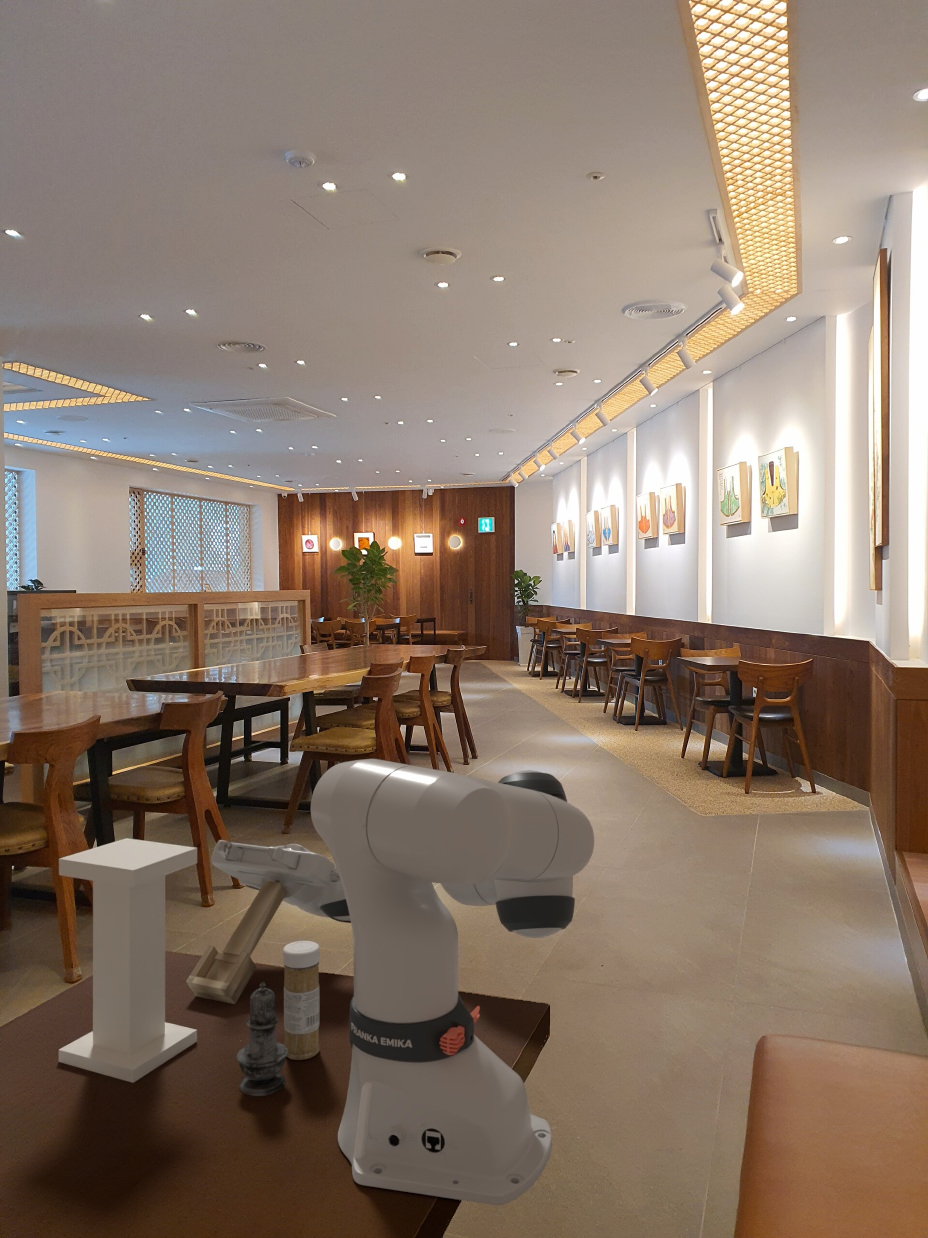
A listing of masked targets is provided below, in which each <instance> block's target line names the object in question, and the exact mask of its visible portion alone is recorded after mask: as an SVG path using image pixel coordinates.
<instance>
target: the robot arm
mask: <svg viewBox="0 0 928 1238" xmlns="http://www.w3.org/2000/svg"><path fill="white" fill-rule="evenodd" d="M310 816H311V817H310V818H311V822H312V825H313V827H314V829H315V831H316V833H317V834H318V835H319V837H320V838H321V839H322V841H323V842H324V844H325V845H326V847H327V848H328V851H329V852H330V854H331V857H332V859H333V861H331V859H329V858H327V857H326V856H325V855H322V854H319V853H317V852H312V850H310V849H308V848H307V847H304V846H302V845H300V844H297V843H290V844H286V845H277V846H261V845H254V844H248V843H247V844H246V843H239V842H238V843H237V842H231V841H229V840H223V839H219V840H218V841H217V842H216V844H215V846H214V848H213V850H212V855H211V858H210V859H211V864H212V865H213V866H214V867H216V868H217V869H219V870H220V871H222V872H224V873H225V874H227V875H228V876H231V877H233V878H235V879H237V880H239V884H240V885H241V886H244V887H246V888H248V889H252V890H257V891H258V892H259V891H260V889H261V887H262V886H263V884H264V882H265V881H272V882H279V883H282V885H283V887H284V889H285V891H286V893H287V894H286V895H285V897H284V899H283V901H282V902H284V903H286V904H289V905H291V906H295V907H297V908H299V909H300V910H301V911H303V912H306V913H308V914H310V915H312V916H313V915H314V916H317V917H322V918H329V919H332V920H333V921H336V922H341V923H346V924H350V925H351V932H352V933H351V934H352V951H353V953H352V955H353V957H352V958H353V996H352V998H351V999H350V1004H349V1021H348V1023H349V1027H348V1028H349V1030H348V1032H349V1033H348V1034H349V1036H348V1037H349V1042H350V1048H351V1053H352V1054H351V1064H350V1065H351V1066H350V1075H349V1082H348V1088H347V1094H346V1095H347V1096H346V1100H345V1106H344V1109H343V1114H342V1117H341V1121H340V1125H339V1128H338V1131H337V1142H338V1145H339V1148H340V1149H341V1151H342V1152H343V1154H344V1155H345V1156H346V1158H347V1159H348V1160H349V1162H350V1164H351V1172H352V1173H351V1174H352V1179H353V1180H354V1182H355V1183H357V1184H358V1185H361V1186H367V1187H374V1188H380V1189H386V1190H391V1191H392V1190H393V1191H399V1192H406V1193H407V1192H408V1193H411V1194H412V1193H414V1194H419V1195H420V1194H421V1195H425V1196H432V1197H440V1198H446V1199H453V1200H458V1201H465V1202H466V1201H467V1202H471V1203H478V1204H486V1205H492V1206H504V1205H506V1204H509V1203H511V1202H513V1201H515V1200H517V1199H518V1198H519V1197H521V1196H522V1195H524V1194H525V1193H526V1192H527V1191H528V1190H530V1188H532V1187H533V1185H534V1184H535V1183H536V1182H537V1180H538V1179H539V1178H540V1176H541V1175H542V1173H543V1171H544V1170H545V1168H546V1166H547V1164H548V1162H549V1160H550V1156H551V1155H552V1150H553V1138H552V1131H551V1130H552V1129H551V1126H550V1124H549V1122H548V1121H547V1120H546V1119H544V1118H542V1117H539V1116H537V1115H534V1114H532V1113H531V1109H530V1102H529V1097H528V1093H527V1089H526V1086H525V1084H524V1081H523V1079H522V1078H521V1076H520V1075H519V1074H518V1073H517V1072H516V1071H514V1070H513V1069H512V1068H511V1067H510V1066H509V1065H508V1064H506V1062H504V1060H503V1059H501V1058H500V1057H499V1056H498V1055H497V1054H496V1053H494V1052H493V1051H492V1050H491V1049H490V1048H489V1047H488V1046H487V1045H486V1044H485V1043H484V1042H483V1041H481V1039H479V1038H478V1037H477V1036H476V1035H475V1023H476V1022H477V1021H478V1020H479V1019H480V1016H481V1015H480V1010H481V1006H480V1005H478V1006H476V1007H475V1008H474V1009H473V1010H472V1011H471V1012H469V1010H468V1009H467V1008H466V1006H465V1004H464V1002H463V999H462V997H461V995H460V994H459V932H458V927H457V924H456V922H455V919H454V917H453V914H452V913H451V912H450V910H449V909H448V907H446V905H445V904H444V903H443V901H442V900H441V898H440V897H439V895H438V893H437V891H436V889H435V887H434V884H433V883H435V884H440V885H441V887H442V888H443V890H444V891H445V892H446V893H447V895H449V896H450V897H451V899H453V900H454V901H456V902H458V903H460V904H461V905H464V906H473V907H486V906H495V907H496V912H497V915H498V920H499V923H501V926H503V927H504V928H505V929H506V930H507V931H508V932H510V933H515V934H517V935H520V936H522V937H524V938H525V937H526V938H531V939H541V938H546V937H549V936H552V935H554V934H556V933H558V932H560V931H562V930H564V929H566V928H567V927H568V926H569V925H570V923H572V921H573V917H574V913H575V903H576V902H575V901H576V898H575V897H573V893H574V892H573V889H574V876H575V875H577V874H579V873H580V872H581V871H582V870H583V869H584V868H585V867H586V866H587V865H588V863H589V862H590V860H591V858H592V855H593V852H594V847H595V833H594V829H593V825H592V824H591V821H590V820H589V819H588V817H587V816H586V814H585V813H584V812H583V811H582V810H581V809H579V808H578V807H576V806H575V805H573V804H571V803H569V802H568V799H567V795H566V793H565V790H564V787H563V785H562V783H561V782H560V781H559V779H557V777H555V776H554V775H553V774H551V773H548V772H542V771H538V770H530V769H529V770H520V771H516V772H514V773H512V774H508V775H506V776H503V777H501V779H500V780H498V782H495V781H492V780H491V781H490V780H486V779H484V778H478V777H476V776H475V777H474V776H471V775H466V774H461V773H457V772H451V771H450V772H449V771H446V770H439V769H435V768H434V769H433V768H429V767H428V768H427V767H422V766H417V765H412V764H405V763H402V762H401V763H400V762H394V761H388V760H383V759H378V758H367V759H356V760H349V761H344V762H340V763H337V764H335V765H334V766H333V765H332V767H330V768H329V769H328V770H327V771H326V772H324V773H323V774H322V776H321V777H320V778H319V780H318V781H317V783H316V784H315V787H314V790H313V793H312V796H311V802H310Z"/></svg>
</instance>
